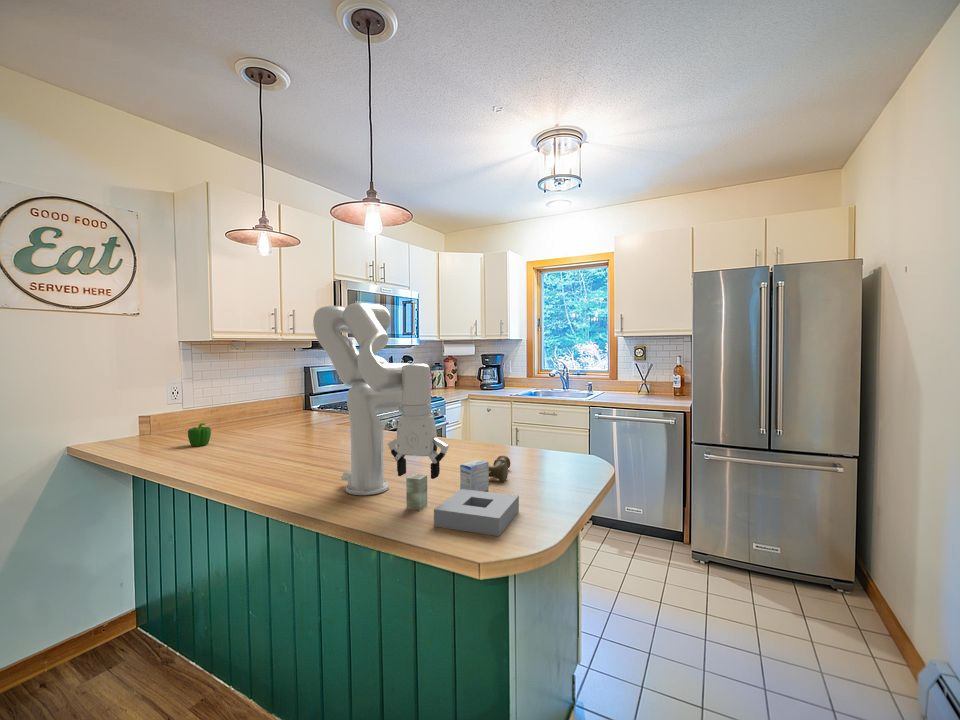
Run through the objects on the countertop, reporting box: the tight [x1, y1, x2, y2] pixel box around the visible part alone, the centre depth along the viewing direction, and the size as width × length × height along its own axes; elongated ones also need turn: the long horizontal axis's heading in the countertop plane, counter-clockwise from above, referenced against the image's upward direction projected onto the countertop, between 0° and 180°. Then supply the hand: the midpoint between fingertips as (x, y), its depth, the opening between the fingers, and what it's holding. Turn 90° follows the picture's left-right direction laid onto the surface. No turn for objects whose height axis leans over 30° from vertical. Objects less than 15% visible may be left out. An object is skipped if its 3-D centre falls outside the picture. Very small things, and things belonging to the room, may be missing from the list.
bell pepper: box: [187, 422, 212, 447], centre depth 191 cm, size 8×8×10 cm
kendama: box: [489, 455, 511, 483], centre depth 142 cm, size 6×10×20 cm
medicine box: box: [459, 459, 490, 492], centre depth 126 cm, size 8×4×9 cm, turn 141°
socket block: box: [433, 488, 520, 537], centre depth 106 cm, size 16×16×4 cm
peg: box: [405, 473, 428, 511], centre depth 114 cm, size 4×4×8 cm
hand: (418, 476), depth 114 cm, fingers open, 9 cm apart
